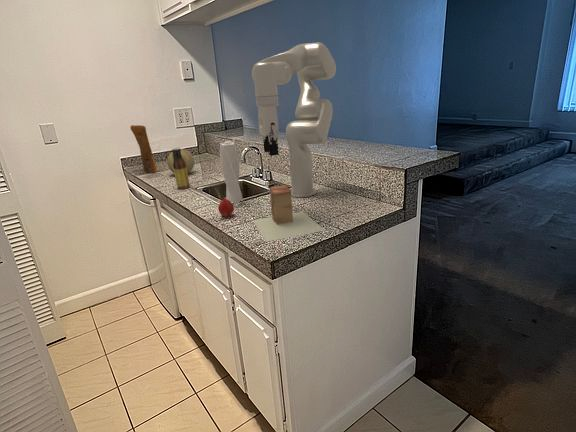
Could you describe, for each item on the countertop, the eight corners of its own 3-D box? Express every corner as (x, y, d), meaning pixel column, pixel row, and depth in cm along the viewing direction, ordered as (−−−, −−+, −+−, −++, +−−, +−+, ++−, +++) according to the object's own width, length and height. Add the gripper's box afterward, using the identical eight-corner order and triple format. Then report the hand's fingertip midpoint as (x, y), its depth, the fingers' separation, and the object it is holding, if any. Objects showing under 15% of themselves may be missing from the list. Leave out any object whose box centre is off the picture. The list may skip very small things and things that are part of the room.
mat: (252, 221, 132) (252, 220, 132) (303, 212, 137) (303, 211, 137) (266, 243, 114) (266, 241, 114) (324, 231, 119) (324, 230, 119)
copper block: (272, 219, 132) (269, 187, 128) (287, 216, 133) (285, 185, 129) (276, 224, 126) (274, 192, 122) (292, 221, 128) (290, 189, 124)
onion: (216, 217, 138) (213, 198, 135) (228, 213, 142) (226, 194, 139) (225, 221, 134) (222, 201, 131) (237, 216, 138) (235, 196, 135)
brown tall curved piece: (149, 174, 212) (139, 126, 201) (138, 170, 226) (128, 124, 215) (160, 172, 215) (151, 124, 205) (149, 167, 229) (140, 123, 219)
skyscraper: (248, 201, 155) (241, 136, 145) (237, 207, 149) (229, 139, 138) (233, 199, 159) (225, 135, 149) (221, 205, 153) (212, 138, 143)
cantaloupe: (197, 175, 204) (193, 148, 198) (170, 179, 199) (165, 152, 193) (193, 169, 217) (189, 145, 211) (168, 173, 212) (164, 148, 206)
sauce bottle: (183, 185, 185) (177, 146, 178) (192, 186, 182) (186, 147, 174) (174, 189, 180) (167, 149, 172) (183, 190, 176) (176, 150, 169)
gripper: (250, 101, 129) (255, 150, 136) (262, 103, 114) (267, 159, 120) (270, 99, 131) (274, 148, 138) (285, 101, 116) (288, 156, 122)
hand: (271, 153), depth 129 cm, fingers open, 6 cm apart
